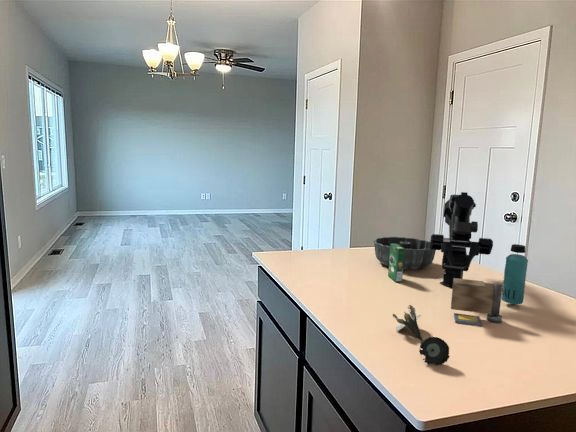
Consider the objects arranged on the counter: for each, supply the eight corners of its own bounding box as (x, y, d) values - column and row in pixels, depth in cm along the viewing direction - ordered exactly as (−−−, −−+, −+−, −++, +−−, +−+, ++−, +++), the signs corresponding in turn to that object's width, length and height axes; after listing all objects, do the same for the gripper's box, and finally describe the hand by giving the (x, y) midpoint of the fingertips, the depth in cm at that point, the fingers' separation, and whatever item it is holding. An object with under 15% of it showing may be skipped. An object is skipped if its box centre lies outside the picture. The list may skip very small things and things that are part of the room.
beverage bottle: (521, 303, 142) (528, 243, 139) (524, 310, 136) (532, 248, 132) (499, 300, 144) (505, 241, 141) (501, 307, 138) (508, 245, 134)
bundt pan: (386, 254, 204) (388, 233, 203) (443, 264, 189) (445, 241, 187) (361, 265, 183) (363, 242, 181) (423, 278, 168) (425, 252, 166)
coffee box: (402, 282, 161) (405, 248, 159) (395, 282, 160) (397, 248, 158) (394, 276, 169) (397, 243, 167) (387, 276, 168) (389, 243, 166)
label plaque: (479, 318, 128) (479, 315, 128) (481, 326, 122) (482, 323, 122) (453, 315, 130) (454, 312, 130) (455, 322, 124) (455, 320, 124)
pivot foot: (492, 317, 129) (493, 311, 129) (504, 321, 126) (505, 316, 126) (483, 319, 128) (483, 313, 127) (495, 324, 124) (496, 318, 124)
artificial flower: (414, 371, 99) (404, 329, 99) (396, 339, 122) (387, 305, 121) (453, 363, 99) (443, 320, 98) (427, 332, 121) (419, 298, 121)
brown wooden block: (498, 313, 127) (501, 281, 126) (502, 321, 121) (506, 288, 119) (450, 307, 131) (453, 276, 129) (452, 315, 125) (454, 282, 123)
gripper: (433, 209, 142) (430, 249, 133) (495, 213, 137) (497, 255, 128) (430, 229, 151) (428, 268, 142) (489, 234, 145) (490, 274, 137)
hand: (460, 266), depth 137 cm, fingers open, 4 cm apart
